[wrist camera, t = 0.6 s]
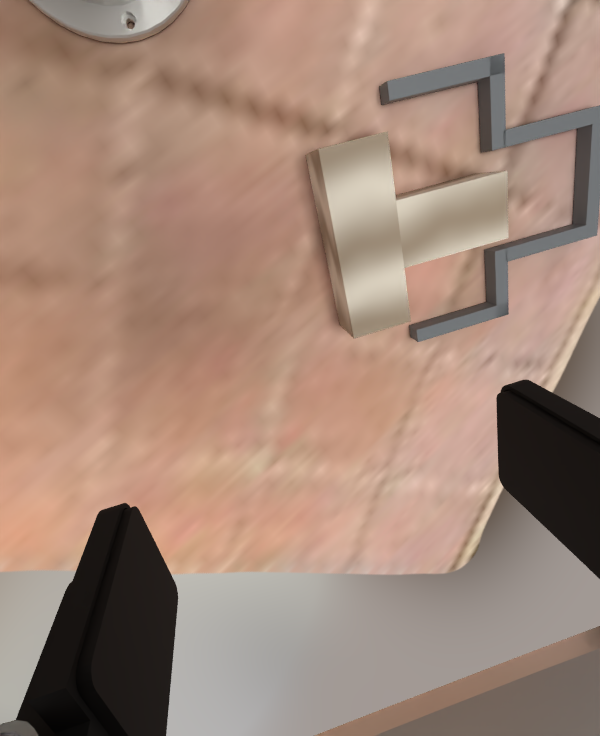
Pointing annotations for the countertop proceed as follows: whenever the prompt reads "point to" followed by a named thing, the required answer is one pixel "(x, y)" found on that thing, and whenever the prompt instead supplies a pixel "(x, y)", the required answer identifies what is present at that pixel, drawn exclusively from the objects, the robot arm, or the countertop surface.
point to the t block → (393, 227)
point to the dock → (593, 150)
